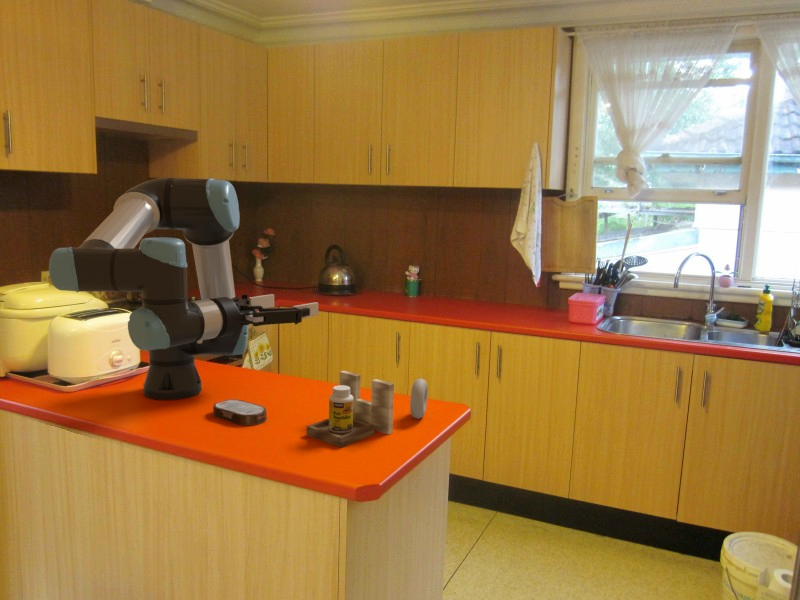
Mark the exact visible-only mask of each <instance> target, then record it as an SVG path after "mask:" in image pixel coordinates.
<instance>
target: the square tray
mask: <svg viewBox="0 0 800 600" xmlns="http://www.w3.org/2000/svg"><path fill="white" fill-rule="evenodd" d="M374 435H375V430H374V425H371V424H368V423H365V422H362V421H359V420H356V419H353V429H352V430H351V431H350V432H348V433H343V434H339V433H334V432H331V431H330V430H329V418H327V419H323V420H320V421H318V422H314V423H312V424H309V425H306V436H308V437H310V438H313V439H316V440H319V441H320V442H323V443H327V444H330V445H333V446H335V447H337V448H344V447H347V446H350V445H351V444H354V443H357V442H359V441H362V440H364V439H367V438H369V437H371V436H374Z"/></svg>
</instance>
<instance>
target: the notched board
mask: <svg viewBox="0 0 800 600" xmlns="http://www.w3.org/2000/svg"><path fill="white" fill-rule="evenodd" d="M338 385H345V386H349V387H350V394H351V395H352V396H353V398H354V401H353V419H356V420H359V421H362V422H365V423H368V424H371V425H374V431H377V432H380V433H382V434H385V435H390V434H392V433H393V432H394V431H393V429H394V427H393V425H394V398H395V397H394V391H395V385H394V383H392V382H389V381H385V380H382V379H377V378H375V379H372V380H371V401H369V400H365V399H362V398H361V374H359V373H354V372H351V371H347V370H340V371H339V384H338Z"/></svg>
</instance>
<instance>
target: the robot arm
mask: <svg viewBox="0 0 800 600" xmlns="http://www.w3.org/2000/svg"><path fill="white" fill-rule="evenodd" d="M239 207H240V205H239V200H238V195H237V193H236V189H235V187H234V186H233V184H232V183H231V182H230V181H228V180H225V179H215V178H213V177H212V178H207V179H203V178H200V179H199V178H180V177H179V178H177V177H175V178H173V177H159V178H154V179H153V178H152V179H149V180H146V181H144V182H141V183H139V184H137V185H134V186H132V187H131V188H130V189H127V190H126V191H125V192H124V193H122V194H121V195H120V196H119V197H118V198H117V199H116V200H115V203H114V205H113V208H112V209H113V211H112V212H111V213H110V214H109V215H108V216H107V217H106V218H104V220H103V221H102V222H101V223H100V224H99V225H98V226H97V227H96V228H95V229H94V231H92V232H91V233H90V234H89V235H88V237H86V239H85V240H83V242H82V243H81V244H80V245H79V246H78V247H72V246H68V247H58V248H56V249H54V250H53V251H52V253H51V255H50V257H49V262H48V274H49V279H50V281H51V284H52V286H53V287H54V288H55V289H56V290H59V291H66V292H68V291H69V292H76V293H79V292H121V293H122V292H123V293H125V292H127V293H136V292H137V293H141V297H142V301H141V302H142V307H139V308H137V309H135V310H133V311H132V312H131V313H130V314H129V320H128V321H127V330H128V335H129V338H130V340H131V342H132V344H133V345H134V346H135V347H136V348H138V350H141V351H142V352H143V351H144V352H145V351H148V355H149V358H148V359H149V360H148V361H149V365H148V366H149V367H148V370H147V374H146V377H145V380H144V383H143V387H142V388H143V395H144V396H145V397H147V398H149V399H152V400H159V401H160V400H161V401H163V400H164V401H169V400H181V399H185V398H186V399H187V398H190V397H194V396H197V395H198V394H200V393H201V392H202V390H203V389H202V387H203V386H202V384H203V383H202V380H201V377H200V374H199V371H198V369H197V366H196V364H195V363H196V362H195V356H237V355H239V356H241V355H243V354H244V353H245V352H246V351H247V348H248V347H247V346H248V338H249V337H248V336H249V328H250V325H252V326H253V327H259V326H268V325H280V324H281V325H282V324H294V325H299V324H300V323H302V322H303V319H307V318H313V317H318V316H319V302H310V303H303V304H298V305H293V306H292V307H275V294H273V293H271V294H265V295H257V296H252V297H251V296H250V297H248V294H245V293H243V294H241V298H240V297H239V296H236V291H235V282H234V274H233V266H232V265H233V264H232V257H231V249H230V247H231V246H230V243H229V242H230V239H231V238H232V237H233V235H234V234H235V233H234V232H235V231H237V230H238V229H239V227H240V214H241V213H240V208H239ZM155 230H179V231H182V233H183V236H184V239H185V240H186V241H187V242H188V243H190V244H191V245H192V246H191V247H192V251H193V258H194V263H195V264H194V265H195V271H196V277H197V282H198V288H199V293H200V298H201V299H199V300H193V301H192V300H191V301H188V262H187V255H186V245H185V242H184V241H183V239H180V238H178V237H177V238H176V237H145V238H143V237H144V235H146V234H150V233H151V232H153V231H155ZM139 242H140V243H139ZM138 244H139V247H137V248H136V246H137V245H138ZM257 310H258V311H257Z"/></svg>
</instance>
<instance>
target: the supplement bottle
mask: <svg viewBox="0 0 800 600" xmlns="http://www.w3.org/2000/svg"><path fill="white" fill-rule="evenodd" d="M353 401H354V398H353V396H352V395H351V394H350V387H349V386H345V385H339V384H338V385H335V386H333V387H332V394H331V395H330V396H329V401H328V403H329V404H328V419H329V430H330V431H331V432H334V433H339V434H343V433H348V432H350V431H351V430H352V429H353Z"/></svg>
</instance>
